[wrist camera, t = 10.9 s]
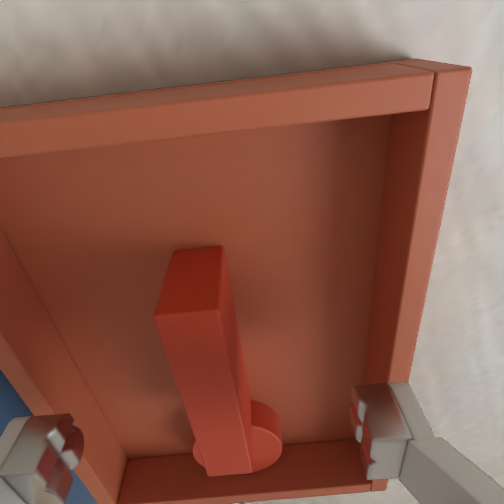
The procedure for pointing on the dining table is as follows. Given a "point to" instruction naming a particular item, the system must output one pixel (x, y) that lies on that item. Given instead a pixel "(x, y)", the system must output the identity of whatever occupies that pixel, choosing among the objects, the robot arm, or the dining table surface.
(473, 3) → the dining table surface
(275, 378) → the tray red
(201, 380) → the red bar with disc
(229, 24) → the dining table surface
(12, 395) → the tray blue
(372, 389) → the robot arm
